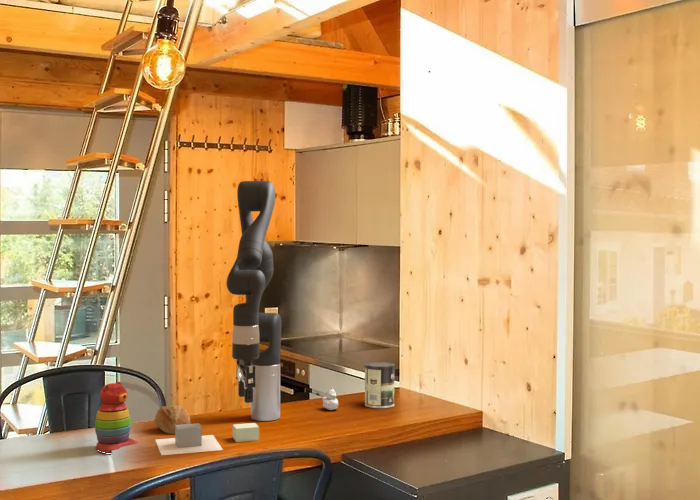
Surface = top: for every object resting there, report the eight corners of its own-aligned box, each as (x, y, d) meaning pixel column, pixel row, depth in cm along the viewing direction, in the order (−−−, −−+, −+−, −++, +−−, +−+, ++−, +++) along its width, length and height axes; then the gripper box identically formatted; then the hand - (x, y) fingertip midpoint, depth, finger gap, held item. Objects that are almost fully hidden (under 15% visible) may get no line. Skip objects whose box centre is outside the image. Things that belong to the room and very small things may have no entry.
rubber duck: (331, 412, 260) (331, 388, 260) (317, 409, 265) (317, 385, 265) (342, 409, 264) (342, 385, 264) (328, 406, 269) (328, 383, 269)
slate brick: (177, 447, 213) (177, 429, 213) (175, 443, 218) (175, 424, 218) (201, 445, 215) (201, 427, 215) (198, 441, 220) (198, 423, 220)
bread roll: (162, 441, 225) (162, 412, 225) (149, 429, 238) (149, 402, 238) (196, 437, 230) (196, 409, 229) (181, 425, 243) (181, 399, 243)
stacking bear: (111, 456, 210) (111, 388, 209) (85, 450, 215) (85, 384, 215) (142, 446, 219) (142, 381, 218) (116, 441, 224) (116, 378, 224)
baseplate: (155, 443, 222) (155, 439, 222) (212, 439, 227) (212, 434, 227) (161, 459, 206) (161, 455, 206) (223, 454, 212) (223, 449, 212)
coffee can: (393, 401, 277) (394, 361, 276) (395, 408, 266) (395, 366, 266) (364, 401, 277) (364, 361, 276) (364, 408, 267) (364, 366, 266)
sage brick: (236, 446, 220) (236, 428, 219) (232, 442, 224) (232, 424, 224) (259, 444, 222) (259, 427, 222) (255, 440, 226) (255, 422, 226)
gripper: (227, 338, 228) (227, 395, 228) (237, 345, 214) (237, 405, 214) (253, 337, 230) (253, 394, 230) (264, 344, 217) (264, 403, 217)
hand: (245, 399), depth 222 cm, fingers open, 8 cm apart
